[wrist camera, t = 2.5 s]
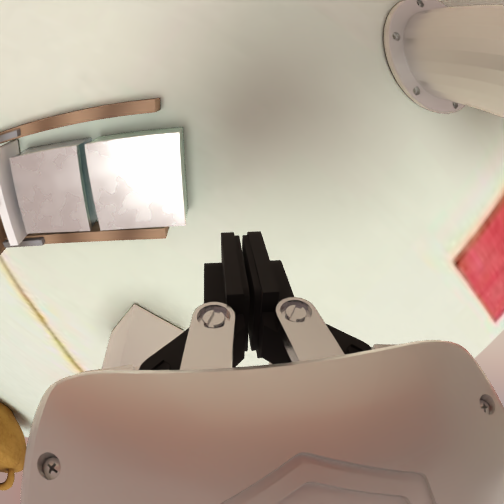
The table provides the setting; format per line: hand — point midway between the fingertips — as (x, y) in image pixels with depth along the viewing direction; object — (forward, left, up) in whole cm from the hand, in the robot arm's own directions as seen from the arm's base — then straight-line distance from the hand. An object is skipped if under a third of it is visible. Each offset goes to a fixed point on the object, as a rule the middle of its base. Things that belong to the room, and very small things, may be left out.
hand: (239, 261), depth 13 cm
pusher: (+21, 0, -14) cm, 25 cm away
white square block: (+16, 0, -14) cm, 21 cm away
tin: (+7, 0, -14) cm, 16 cm away
